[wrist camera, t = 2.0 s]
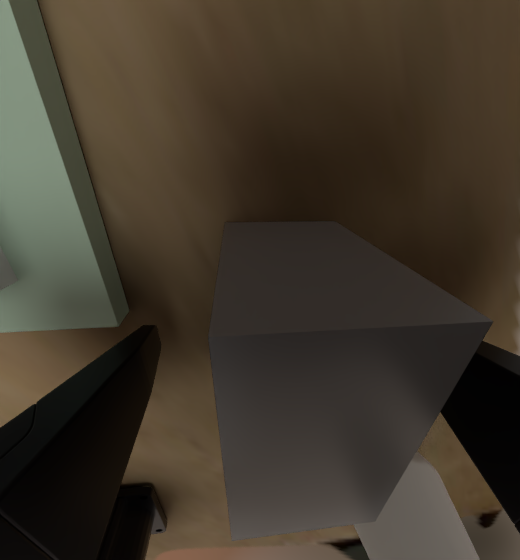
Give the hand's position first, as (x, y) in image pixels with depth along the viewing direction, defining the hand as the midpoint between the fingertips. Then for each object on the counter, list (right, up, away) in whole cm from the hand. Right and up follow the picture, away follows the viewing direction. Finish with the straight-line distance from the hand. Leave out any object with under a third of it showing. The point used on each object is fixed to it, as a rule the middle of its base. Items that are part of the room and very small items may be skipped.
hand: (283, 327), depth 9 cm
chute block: (0, +1, +1) cm, 2 cm away
